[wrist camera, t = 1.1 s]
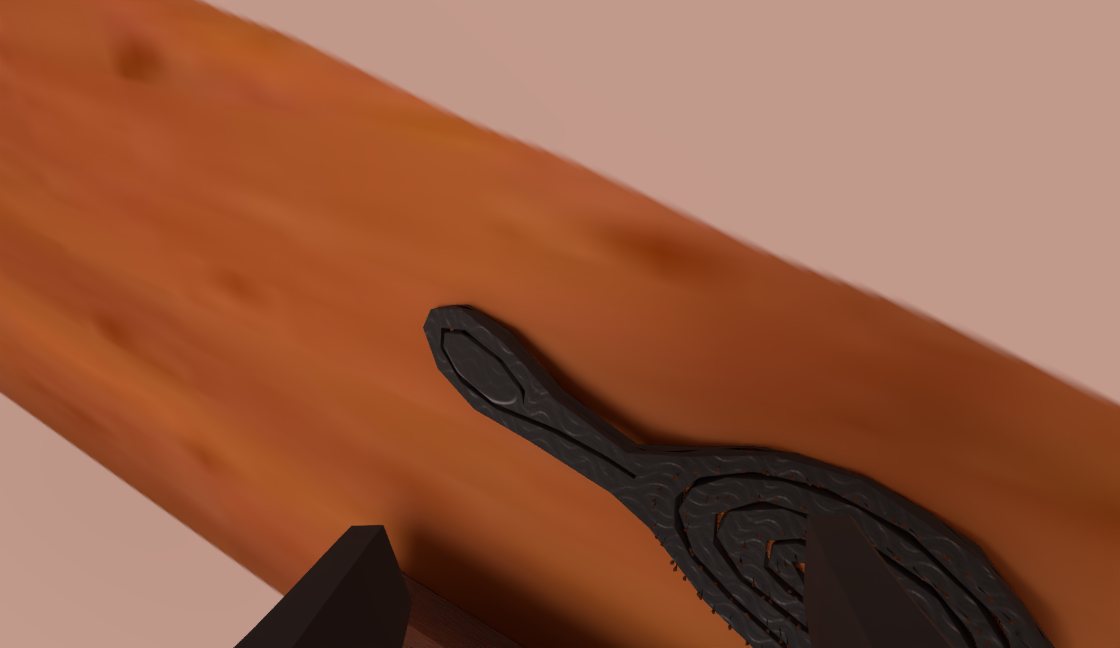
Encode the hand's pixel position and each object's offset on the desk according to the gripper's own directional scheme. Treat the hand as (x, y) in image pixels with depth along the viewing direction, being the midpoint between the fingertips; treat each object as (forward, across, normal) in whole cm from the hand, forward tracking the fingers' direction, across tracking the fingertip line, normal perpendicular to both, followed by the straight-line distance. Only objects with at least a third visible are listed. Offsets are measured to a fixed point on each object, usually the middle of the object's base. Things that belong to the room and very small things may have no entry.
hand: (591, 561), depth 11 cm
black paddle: (+11, -2, +8) cm, 14 cm away
